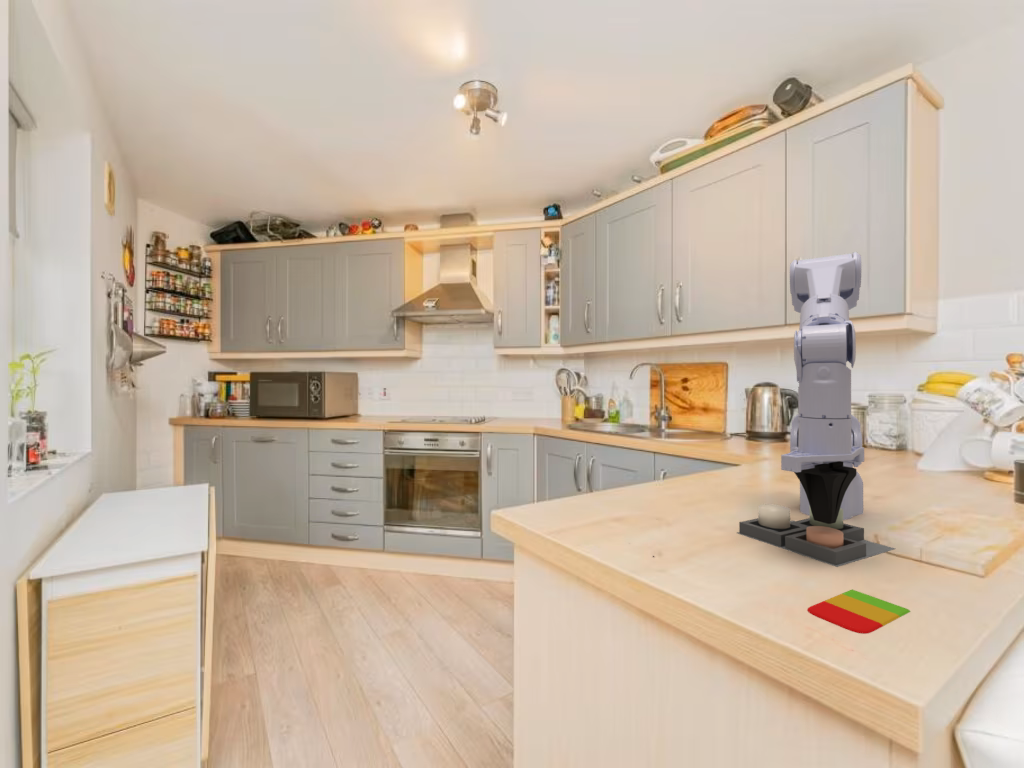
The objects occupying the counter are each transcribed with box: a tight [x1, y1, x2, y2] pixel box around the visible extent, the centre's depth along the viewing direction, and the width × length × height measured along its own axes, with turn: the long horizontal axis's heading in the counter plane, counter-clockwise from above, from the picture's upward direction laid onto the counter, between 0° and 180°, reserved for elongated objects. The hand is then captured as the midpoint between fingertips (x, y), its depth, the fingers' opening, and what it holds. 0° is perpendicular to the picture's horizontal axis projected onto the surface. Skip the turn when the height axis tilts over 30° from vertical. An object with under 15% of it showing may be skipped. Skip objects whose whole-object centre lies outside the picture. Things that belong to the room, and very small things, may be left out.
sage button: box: [809, 506, 844, 529], centre depth 67 cm, size 4×4×2 cm
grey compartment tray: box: [736, 517, 896, 568], centre depth 65 cm, size 13×14×3 cm
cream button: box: [757, 503, 791, 529], centre depth 67 cm, size 4×4×2 cm
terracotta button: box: [806, 526, 844, 549], centre depth 61 cm, size 4×4×2 cm
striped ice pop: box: [806, 589, 911, 635], centre depth 47 cm, size 6×15×2 cm, turn 118°
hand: (824, 521), depth 61 cm, fingers closed
